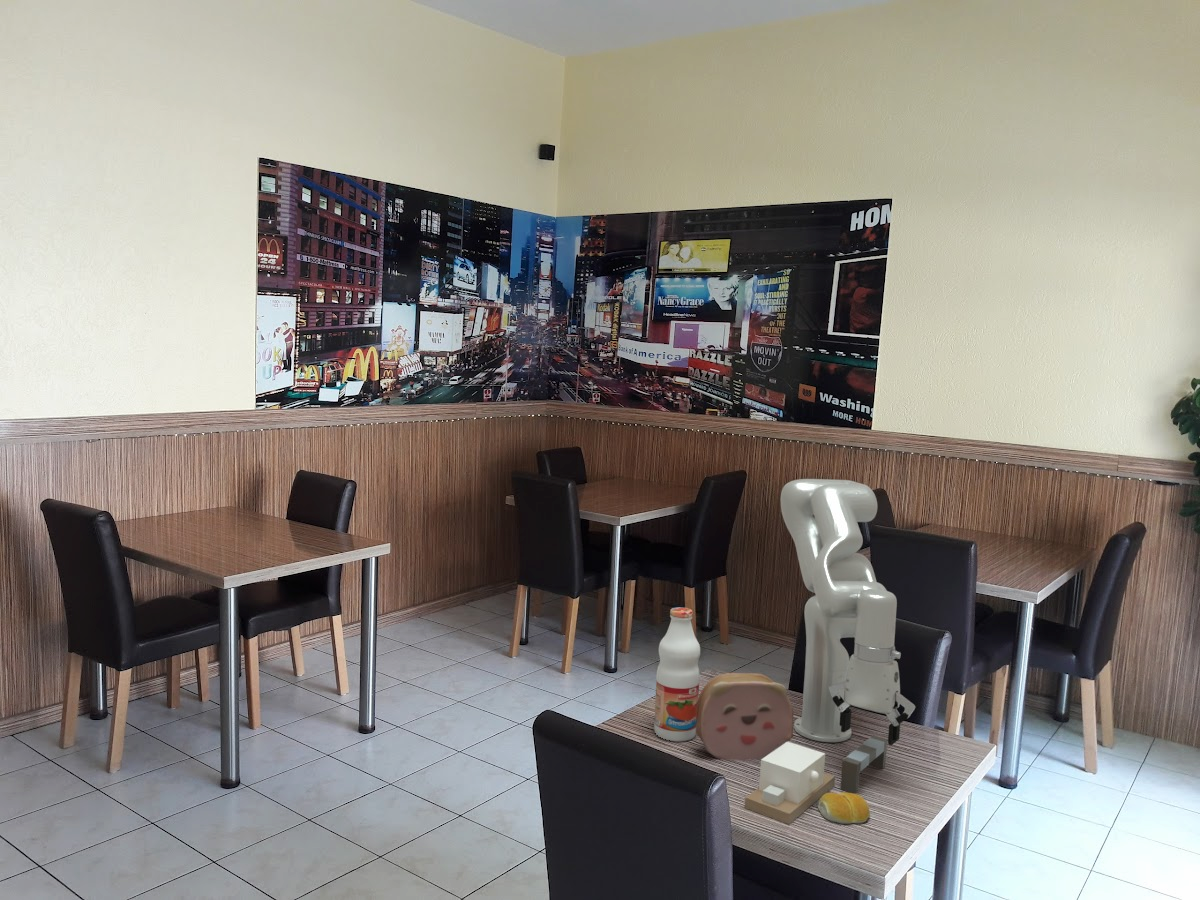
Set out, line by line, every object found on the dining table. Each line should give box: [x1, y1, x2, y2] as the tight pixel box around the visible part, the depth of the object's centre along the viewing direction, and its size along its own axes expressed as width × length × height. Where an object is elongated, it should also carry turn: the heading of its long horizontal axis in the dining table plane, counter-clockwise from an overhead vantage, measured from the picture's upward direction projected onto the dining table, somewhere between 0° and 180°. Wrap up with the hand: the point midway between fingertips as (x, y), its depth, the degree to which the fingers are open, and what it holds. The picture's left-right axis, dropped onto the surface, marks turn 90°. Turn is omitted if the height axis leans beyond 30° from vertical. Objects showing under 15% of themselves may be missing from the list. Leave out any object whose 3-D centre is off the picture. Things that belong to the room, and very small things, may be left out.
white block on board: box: [744, 741, 836, 825], centre depth 177 cm, size 20×10×8 cm, turn 142°
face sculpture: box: [696, 672, 795, 761], centre depth 195 cm, size 20×7×17 cm, turn 96°
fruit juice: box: [653, 606, 701, 742], centre depth 203 cm, size 9×9×28 cm
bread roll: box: [817, 792, 871, 825], centre depth 172 cm, size 8×9×4 cm
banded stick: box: [840, 734, 888, 794], centre depth 187 cm, size 16×3×6 cm, turn 142°
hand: (868, 736), depth 185 cm, fingers open, 9 cm apart
